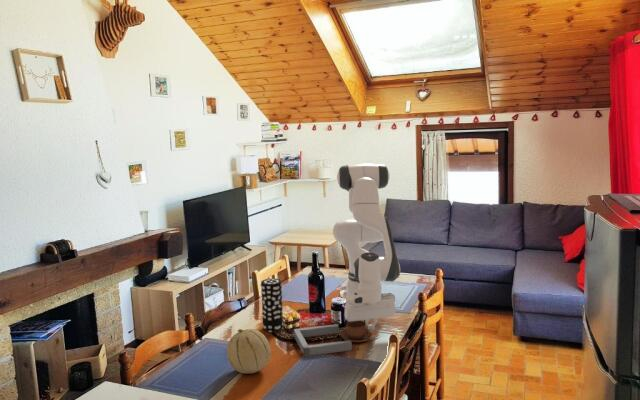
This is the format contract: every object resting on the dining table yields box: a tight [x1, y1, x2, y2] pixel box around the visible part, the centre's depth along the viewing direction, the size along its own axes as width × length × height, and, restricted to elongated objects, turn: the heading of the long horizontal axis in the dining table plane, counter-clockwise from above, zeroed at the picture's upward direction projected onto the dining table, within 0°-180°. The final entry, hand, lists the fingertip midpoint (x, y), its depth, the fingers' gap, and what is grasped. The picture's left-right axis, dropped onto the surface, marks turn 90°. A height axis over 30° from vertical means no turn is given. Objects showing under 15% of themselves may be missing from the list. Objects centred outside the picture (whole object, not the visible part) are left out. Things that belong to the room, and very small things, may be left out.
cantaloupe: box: [226, 328, 272, 375], centre depth 179 cm, size 15×15×15 cm
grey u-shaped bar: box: [293, 323, 353, 357], centre depth 201 cm, size 19×18×3 cm
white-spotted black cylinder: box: [260, 278, 284, 333], centre depth 216 cm, size 8×8×20 cm
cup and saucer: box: [340, 320, 373, 343], centre depth 204 cm, size 12×12×6 cm
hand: (370, 329), depth 206 cm, fingers closed
